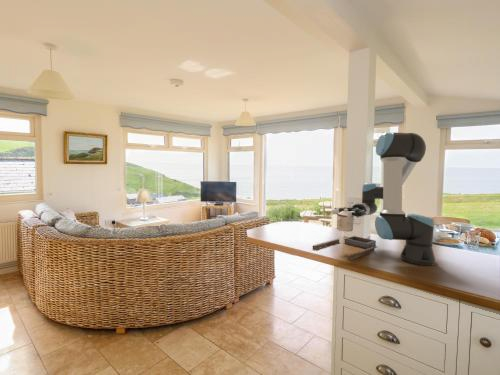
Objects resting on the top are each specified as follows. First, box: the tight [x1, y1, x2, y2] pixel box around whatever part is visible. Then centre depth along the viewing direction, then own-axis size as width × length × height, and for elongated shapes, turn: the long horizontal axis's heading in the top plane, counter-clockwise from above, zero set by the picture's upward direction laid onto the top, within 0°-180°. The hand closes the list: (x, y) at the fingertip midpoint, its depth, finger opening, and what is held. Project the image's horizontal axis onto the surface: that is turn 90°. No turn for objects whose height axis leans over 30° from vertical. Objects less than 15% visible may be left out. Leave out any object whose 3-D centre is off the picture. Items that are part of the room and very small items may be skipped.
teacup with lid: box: [336, 209, 355, 233], centre depth 157 cm, size 12×9×12 cm
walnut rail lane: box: [312, 238, 376, 261], centre depth 158 cm, size 24×25×2 cm
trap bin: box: [344, 235, 377, 249], centre depth 171 cm, size 14×11×3 cm
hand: (339, 213), depth 153 cm, fingers closed on teacup with lid, 9 cm apart
